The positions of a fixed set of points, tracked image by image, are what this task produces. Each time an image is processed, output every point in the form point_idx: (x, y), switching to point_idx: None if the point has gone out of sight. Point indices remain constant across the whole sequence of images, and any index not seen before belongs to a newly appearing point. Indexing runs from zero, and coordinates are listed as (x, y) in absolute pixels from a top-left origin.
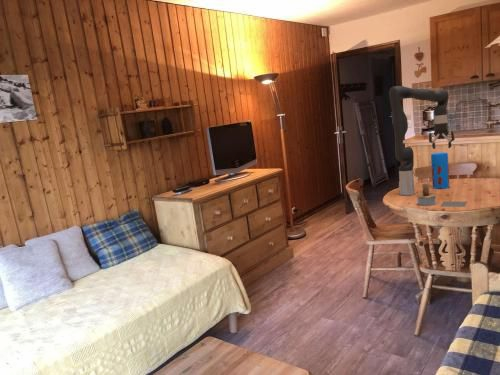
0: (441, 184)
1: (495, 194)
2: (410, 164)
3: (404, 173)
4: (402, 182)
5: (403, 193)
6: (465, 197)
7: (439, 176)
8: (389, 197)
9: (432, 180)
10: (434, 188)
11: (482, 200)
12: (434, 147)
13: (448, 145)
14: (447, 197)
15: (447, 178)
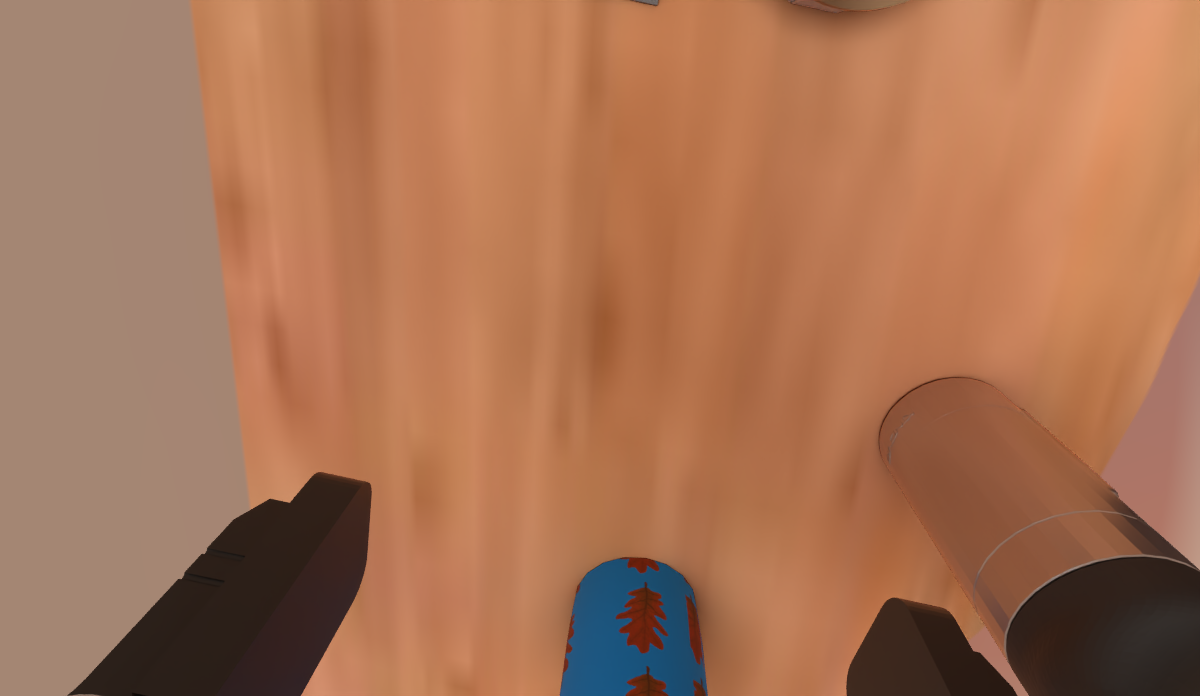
0: (632, 587)
1: (223, 280)
2: (1122, 664)
3: (1140, 533)
4: (1082, 466)
5: (1004, 396)
6: (452, 202)
7: (645, 652)
8: (1151, 332)
9: (703, 658)
10: (686, 583)
11: (301, 37)
12: (931, 640)
13: (310, 552)
14: (606, 231)
15: (575, 644)
